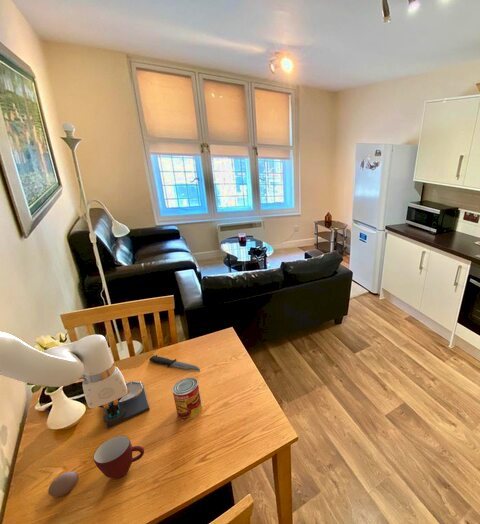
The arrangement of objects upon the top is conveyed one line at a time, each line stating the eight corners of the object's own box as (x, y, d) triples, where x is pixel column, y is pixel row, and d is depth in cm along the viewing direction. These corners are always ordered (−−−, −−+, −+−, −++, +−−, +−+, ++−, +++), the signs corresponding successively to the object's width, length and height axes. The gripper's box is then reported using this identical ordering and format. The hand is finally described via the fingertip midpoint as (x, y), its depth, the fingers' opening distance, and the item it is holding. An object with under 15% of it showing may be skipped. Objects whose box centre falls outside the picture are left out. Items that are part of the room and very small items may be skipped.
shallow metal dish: (112, 408, 100) (111, 406, 99) (109, 391, 106) (109, 389, 106) (144, 395, 106) (144, 392, 105) (140, 379, 112) (140, 377, 112)
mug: (146, 448, 91) (139, 426, 87) (148, 470, 85) (141, 447, 81) (103, 467, 85) (94, 444, 81) (102, 492, 79) (92, 469, 75)
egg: (46, 504, 76) (41, 495, 74) (57, 481, 81) (52, 472, 79) (75, 495, 78) (70, 486, 77) (84, 473, 83) (80, 464, 82)
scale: (106, 430, 96) (104, 424, 94) (102, 400, 106) (100, 394, 105) (150, 410, 103) (148, 404, 102) (143, 384, 114) (141, 379, 113)
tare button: (110, 421, 97) (109, 418, 96) (109, 416, 99) (108, 412, 98) (120, 417, 99) (119, 413, 98) (119, 411, 101) (118, 408, 100)
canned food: (172, 414, 103) (166, 389, 98) (192, 398, 109) (187, 374, 105) (188, 423, 100) (182, 398, 95) (207, 406, 106) (202, 382, 102)
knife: (205, 364, 124) (197, 373, 119) (205, 367, 124) (197, 375, 120) (155, 353, 128) (146, 360, 124) (156, 356, 129) (147, 363, 124)
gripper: (67, 390, 84) (85, 433, 91) (130, 367, 93) (142, 408, 100) (67, 375, 89) (85, 417, 96) (127, 355, 98) (139, 394, 105)
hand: (114, 412), depth 98 cm, fingers closed
